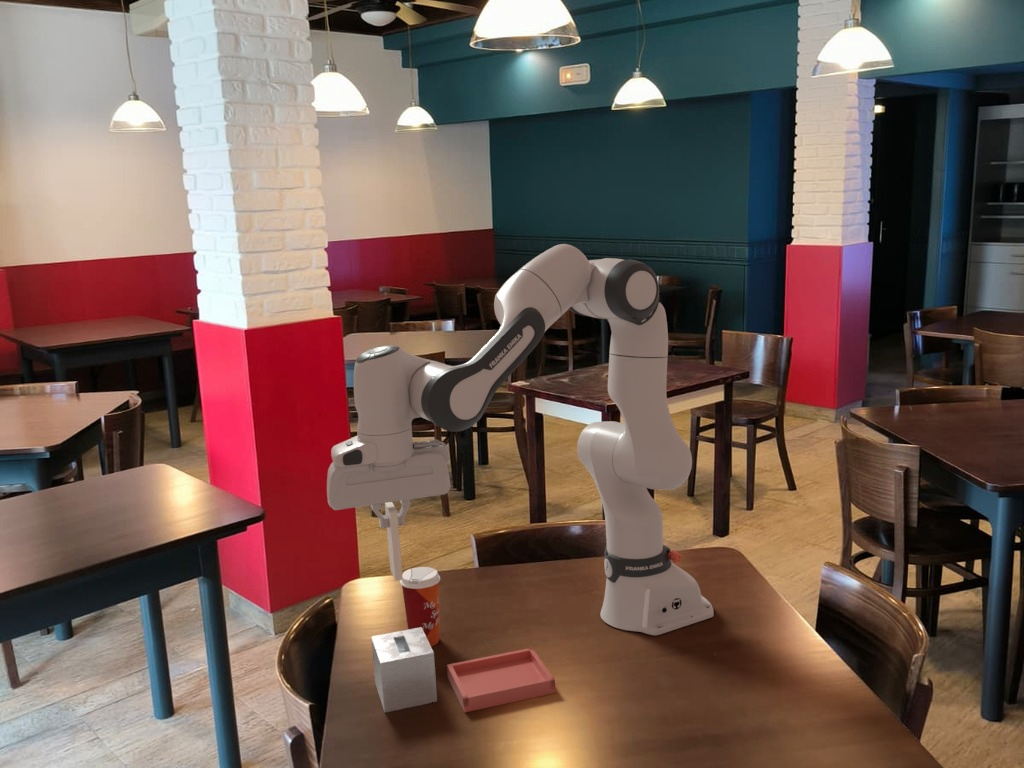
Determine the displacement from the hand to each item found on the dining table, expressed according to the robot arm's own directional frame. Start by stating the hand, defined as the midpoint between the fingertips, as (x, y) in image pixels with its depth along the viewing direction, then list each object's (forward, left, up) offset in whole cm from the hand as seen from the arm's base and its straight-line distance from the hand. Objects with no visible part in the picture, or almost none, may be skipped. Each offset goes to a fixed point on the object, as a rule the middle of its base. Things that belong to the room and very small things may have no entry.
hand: (392, 526), depth 148 cm
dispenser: (0, 0, -30) cm, 30 cm away
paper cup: (-7, -17, -31) cm, 36 cm away
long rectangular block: (0, 0, -9) cm, 9 cm away
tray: (-16, +4, -30) cm, 35 cm away
